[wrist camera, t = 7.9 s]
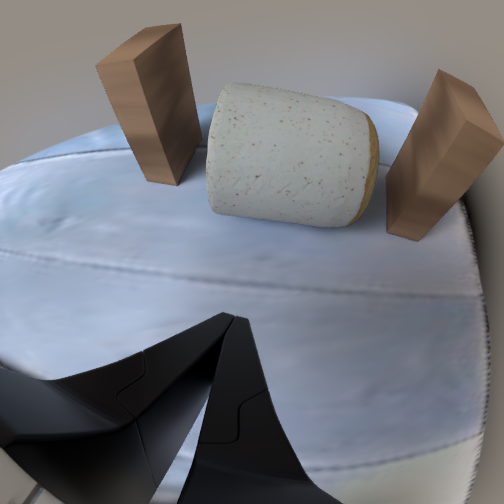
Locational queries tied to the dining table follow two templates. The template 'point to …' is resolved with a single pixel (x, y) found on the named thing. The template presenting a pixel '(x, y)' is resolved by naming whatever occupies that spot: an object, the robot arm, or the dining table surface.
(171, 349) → the robot arm
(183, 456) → the dining table surface
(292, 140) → the ceramic mug
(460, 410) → the dining table surface
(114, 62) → the walnut bookends
